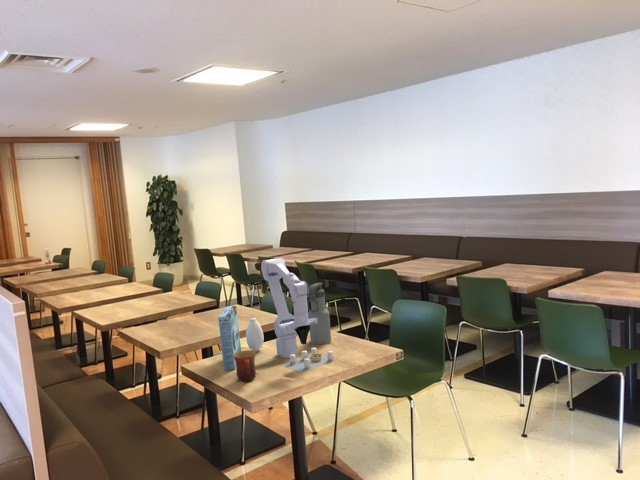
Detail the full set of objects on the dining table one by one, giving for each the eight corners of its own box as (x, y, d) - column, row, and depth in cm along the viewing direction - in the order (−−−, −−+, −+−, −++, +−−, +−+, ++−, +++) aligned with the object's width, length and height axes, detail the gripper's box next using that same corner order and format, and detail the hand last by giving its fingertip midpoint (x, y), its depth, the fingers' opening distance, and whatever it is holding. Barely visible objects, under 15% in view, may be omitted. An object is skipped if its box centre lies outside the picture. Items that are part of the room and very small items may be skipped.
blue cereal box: (235, 370, 215) (229, 316, 213) (222, 370, 215) (217, 317, 213) (241, 354, 235) (237, 305, 232) (230, 355, 235) (225, 306, 232)
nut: (309, 360, 217) (309, 356, 217) (315, 357, 220) (315, 353, 220) (318, 362, 214) (317, 357, 214) (324, 359, 217) (323, 354, 217)
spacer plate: (282, 366, 215) (281, 356, 214) (317, 355, 225) (316, 345, 225) (300, 374, 204) (299, 363, 204) (336, 362, 215) (335, 352, 215)
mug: (234, 377, 207) (231, 352, 206) (256, 373, 209) (253, 349, 208) (238, 387, 195) (235, 361, 194) (261, 383, 198) (258, 357, 196)
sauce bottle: (244, 351, 239) (240, 313, 237) (258, 347, 244) (255, 309, 242) (253, 354, 233) (250, 315, 231) (267, 350, 238) (264, 312, 236)
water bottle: (323, 347, 236) (318, 287, 233) (306, 344, 242) (301, 286, 239) (335, 340, 245) (330, 282, 242) (318, 338, 250) (313, 281, 247)
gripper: (291, 316, 204) (294, 350, 205) (320, 309, 212) (323, 341, 214) (281, 314, 209) (284, 346, 211) (310, 306, 218) (313, 338, 219)
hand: (303, 343), depth 213 cm, fingers closed
